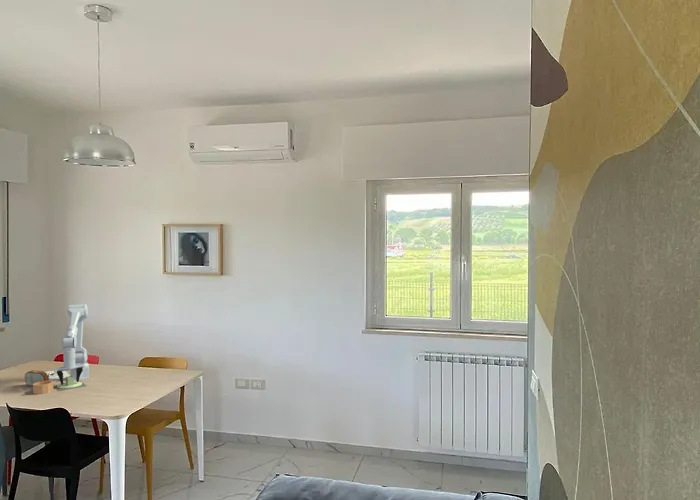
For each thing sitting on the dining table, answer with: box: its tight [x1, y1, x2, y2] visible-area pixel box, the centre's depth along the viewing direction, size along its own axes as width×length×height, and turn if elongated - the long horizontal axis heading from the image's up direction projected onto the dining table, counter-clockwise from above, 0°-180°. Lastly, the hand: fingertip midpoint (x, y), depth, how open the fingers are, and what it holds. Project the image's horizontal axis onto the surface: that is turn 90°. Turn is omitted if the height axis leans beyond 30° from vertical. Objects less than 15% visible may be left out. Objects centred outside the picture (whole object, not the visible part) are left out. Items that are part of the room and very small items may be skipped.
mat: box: [53, 380, 87, 392], centre depth 268 cm, size 14×14×1 cm
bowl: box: [32, 380, 54, 395], centre depth 258 cm, size 9×9×5 cm
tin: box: [24, 370, 50, 387], centre depth 270 cm, size 15×3×8 cm, turn 74°
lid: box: [57, 375, 83, 390], centre depth 268 cm, size 12×12×5 cm
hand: (69, 383), depth 268 cm, fingers open, 7 cm apart
